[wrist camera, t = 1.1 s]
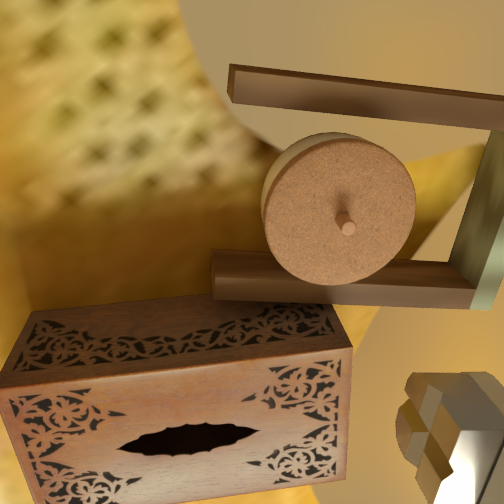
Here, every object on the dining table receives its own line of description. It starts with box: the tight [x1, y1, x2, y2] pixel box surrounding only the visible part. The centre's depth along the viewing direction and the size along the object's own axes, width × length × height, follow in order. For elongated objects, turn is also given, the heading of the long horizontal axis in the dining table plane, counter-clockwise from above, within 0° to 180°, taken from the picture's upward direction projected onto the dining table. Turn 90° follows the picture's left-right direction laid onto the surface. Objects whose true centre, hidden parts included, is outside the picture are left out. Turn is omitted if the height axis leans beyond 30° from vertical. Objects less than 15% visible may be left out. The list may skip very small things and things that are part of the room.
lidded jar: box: [261, 132, 416, 285], centre depth 36 cm, size 11×11×9 cm
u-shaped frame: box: [211, 64, 504, 310], centre depth 38 cm, size 17×24×5 cm
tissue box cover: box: [0, 293, 353, 504], centre depth 42 cm, size 26×14×10 cm, turn 93°
